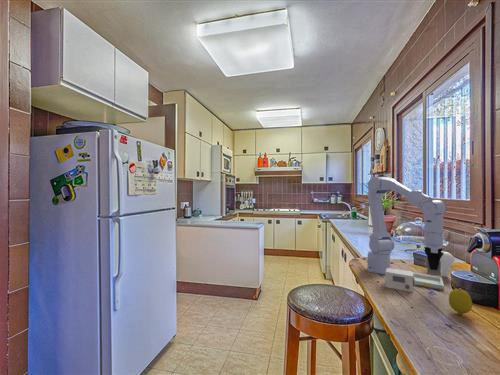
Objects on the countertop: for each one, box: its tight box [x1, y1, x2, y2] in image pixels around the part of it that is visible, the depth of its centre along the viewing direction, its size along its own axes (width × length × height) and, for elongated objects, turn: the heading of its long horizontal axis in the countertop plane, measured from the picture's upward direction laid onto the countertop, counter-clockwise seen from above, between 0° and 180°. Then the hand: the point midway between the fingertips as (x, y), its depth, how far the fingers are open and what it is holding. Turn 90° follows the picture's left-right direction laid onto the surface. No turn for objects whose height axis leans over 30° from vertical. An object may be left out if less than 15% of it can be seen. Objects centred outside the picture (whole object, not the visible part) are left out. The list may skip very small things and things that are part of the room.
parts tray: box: [413, 272, 445, 291], centre depth 102 cm, size 11×11×2 cm
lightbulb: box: [440, 251, 455, 278], centre depth 109 cm, size 6×6×11 cm
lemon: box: [448, 287, 473, 315], centre depth 77 cm, size 6×6×8 cm
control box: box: [385, 267, 415, 293], centre depth 98 cm, size 10×6×6 cm
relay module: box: [426, 257, 442, 276], centre depth 94 cm, size 4×4×5 cm
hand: (433, 267), depth 95 cm, fingers closed on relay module, 4 cm apart
